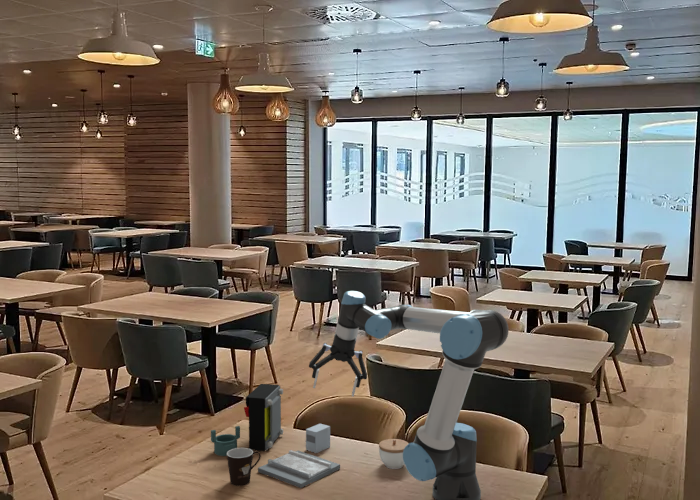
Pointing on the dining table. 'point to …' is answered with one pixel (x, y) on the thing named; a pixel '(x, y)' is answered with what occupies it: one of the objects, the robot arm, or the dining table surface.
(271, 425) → the electrical component
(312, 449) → the block
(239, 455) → the coffee mug
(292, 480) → the mounting board
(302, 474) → the din rail
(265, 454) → the dining table surface
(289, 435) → the dining table surface
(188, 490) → the dining table surface
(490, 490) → the dining table surface
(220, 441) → the bracket
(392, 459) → the lidded jar
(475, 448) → the robot arm
